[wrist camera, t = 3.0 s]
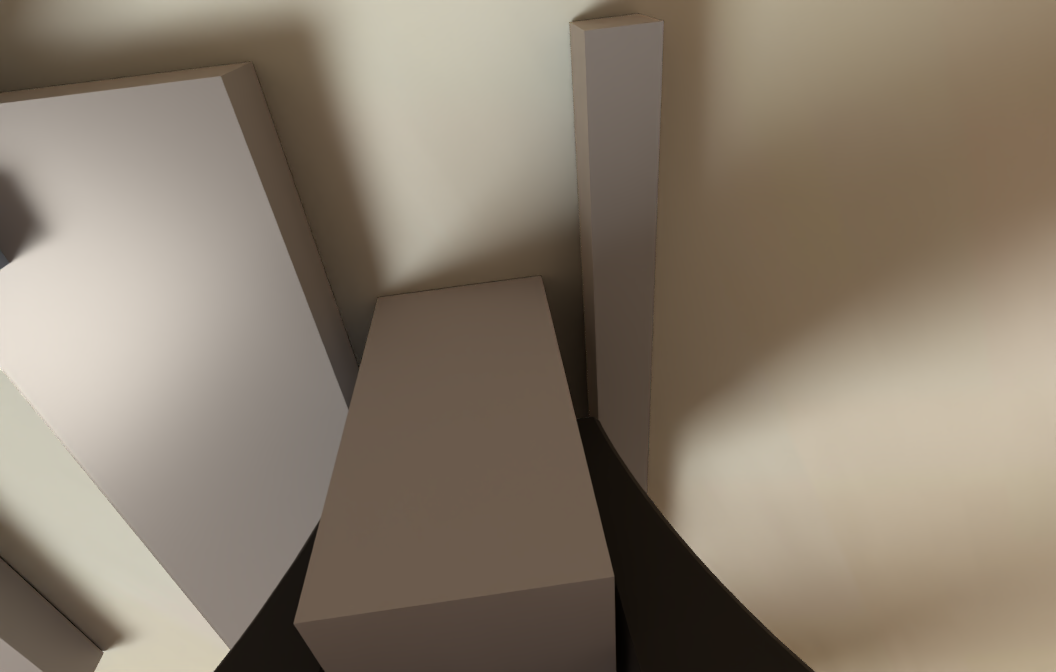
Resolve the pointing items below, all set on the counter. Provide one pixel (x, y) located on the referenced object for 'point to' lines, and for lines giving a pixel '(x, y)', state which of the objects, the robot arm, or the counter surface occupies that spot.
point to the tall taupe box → (461, 499)
